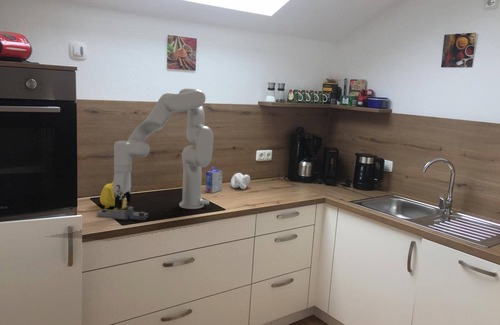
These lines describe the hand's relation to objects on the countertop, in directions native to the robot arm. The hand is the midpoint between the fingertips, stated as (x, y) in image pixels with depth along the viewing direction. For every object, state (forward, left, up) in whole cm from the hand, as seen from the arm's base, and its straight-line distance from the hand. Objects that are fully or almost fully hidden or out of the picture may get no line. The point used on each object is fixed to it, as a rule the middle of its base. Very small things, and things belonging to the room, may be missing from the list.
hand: (122, 204), depth 192 cm
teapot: (+10, -14, -6) cm, 19 cm away
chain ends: (0, 0, -6) cm, 6 cm away
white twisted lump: (-46, -72, -6) cm, 86 cm away
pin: (0, 0, -6) cm, 6 cm away
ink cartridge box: (-31, -60, -6) cm, 68 cm away
